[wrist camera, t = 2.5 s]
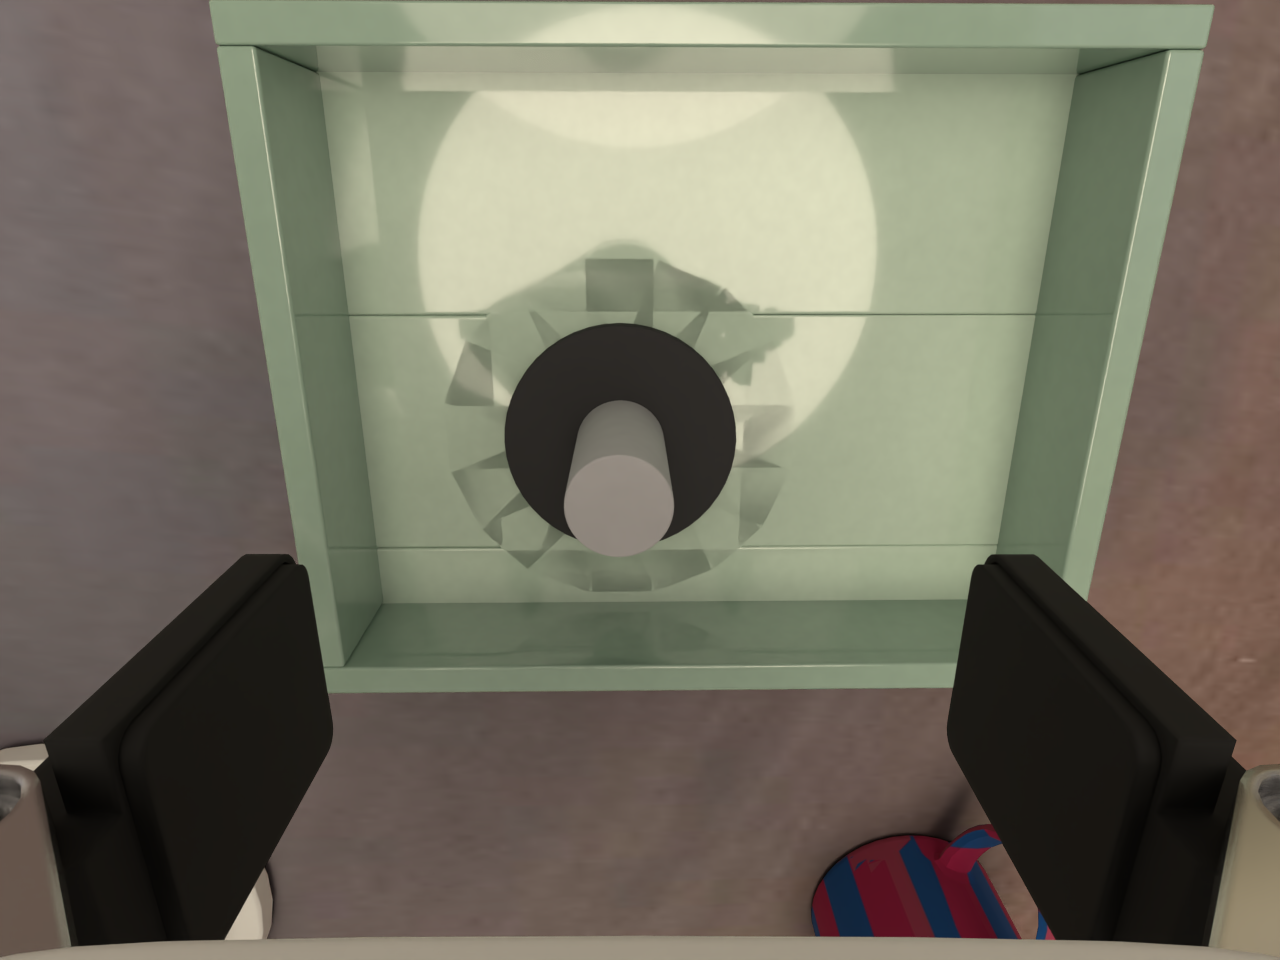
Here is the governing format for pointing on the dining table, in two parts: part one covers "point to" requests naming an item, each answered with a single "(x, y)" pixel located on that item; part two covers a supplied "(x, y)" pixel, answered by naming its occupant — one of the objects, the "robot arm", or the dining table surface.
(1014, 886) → the dining table surface
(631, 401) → the plug
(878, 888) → the mug
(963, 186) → the sink floor
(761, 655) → the sink
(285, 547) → the dining table surface
